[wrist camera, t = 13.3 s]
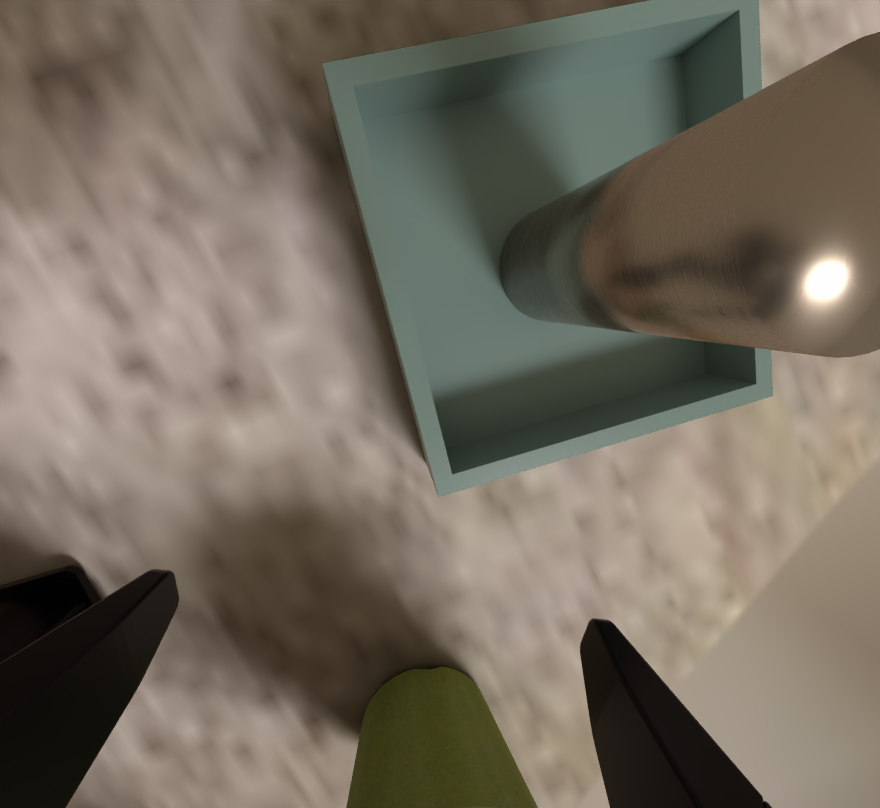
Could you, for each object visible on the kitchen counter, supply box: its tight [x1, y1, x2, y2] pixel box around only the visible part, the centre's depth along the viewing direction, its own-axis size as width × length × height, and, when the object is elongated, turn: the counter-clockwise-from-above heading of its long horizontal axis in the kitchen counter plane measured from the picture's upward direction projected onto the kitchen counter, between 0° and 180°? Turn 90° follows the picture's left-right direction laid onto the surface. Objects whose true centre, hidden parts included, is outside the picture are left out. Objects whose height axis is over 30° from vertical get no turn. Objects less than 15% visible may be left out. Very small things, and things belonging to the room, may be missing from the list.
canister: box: [500, 32, 880, 358], centre depth 13 cm, size 5×5×13 cm
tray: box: [322, 0, 773, 497], centre depth 19 cm, size 16×16×4 cm
